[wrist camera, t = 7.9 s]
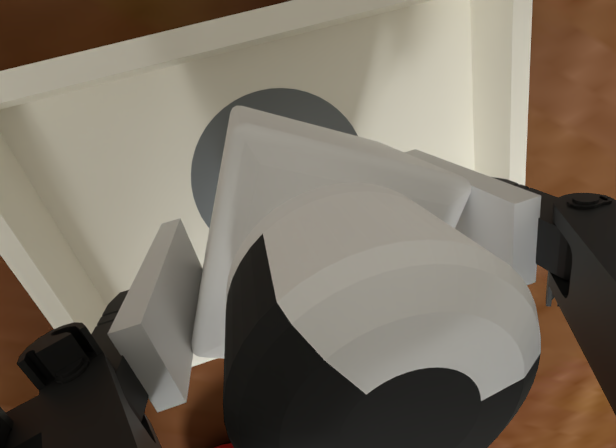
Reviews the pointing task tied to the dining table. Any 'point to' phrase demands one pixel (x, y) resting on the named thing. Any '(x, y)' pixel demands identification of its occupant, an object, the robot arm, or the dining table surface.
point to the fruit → (225, 446)
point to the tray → (215, 116)
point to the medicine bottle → (355, 297)
